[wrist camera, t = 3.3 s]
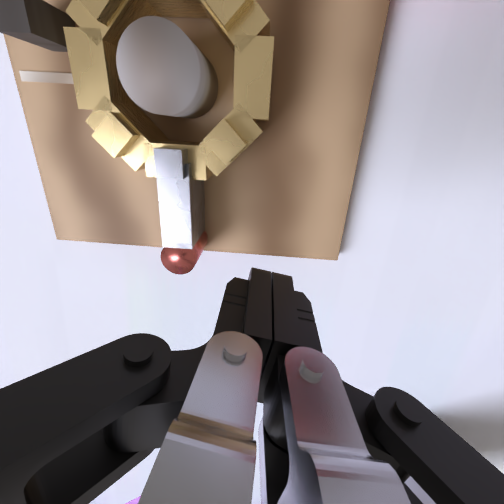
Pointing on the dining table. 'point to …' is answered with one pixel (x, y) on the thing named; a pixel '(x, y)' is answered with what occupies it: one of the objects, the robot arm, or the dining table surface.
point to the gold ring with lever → (146, 132)
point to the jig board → (207, 123)
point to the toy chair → (134, 501)
